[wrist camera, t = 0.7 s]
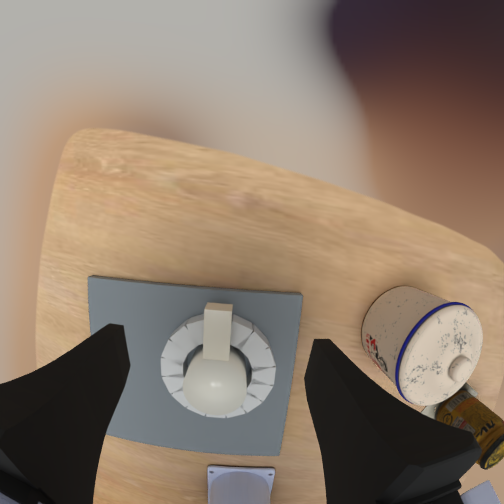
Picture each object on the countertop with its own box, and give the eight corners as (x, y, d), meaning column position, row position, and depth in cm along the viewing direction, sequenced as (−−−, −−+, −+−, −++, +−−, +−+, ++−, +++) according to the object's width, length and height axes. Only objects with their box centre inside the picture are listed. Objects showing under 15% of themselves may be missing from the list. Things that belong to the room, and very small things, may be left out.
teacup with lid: (340, 336, 28) (391, 397, 16) (398, 264, 27) (475, 286, 16) (406, 389, 29) (459, 444, 17) (455, 328, 28) (521, 363, 17)
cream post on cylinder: (244, 387, 27) (244, 417, 22) (191, 383, 27) (183, 411, 22) (251, 298, 26) (253, 314, 21) (193, 293, 26) (182, 309, 21)
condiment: (444, 432, 30) (487, 478, 18) (416, 416, 29) (464, 471, 17) (477, 392, 29) (527, 431, 18) (453, 371, 29) (511, 414, 17)
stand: (278, 450, 29) (281, 467, 26) (109, 430, 28) (100, 444, 25) (300, 292, 27) (307, 301, 24) (92, 275, 26) (77, 280, 23)
